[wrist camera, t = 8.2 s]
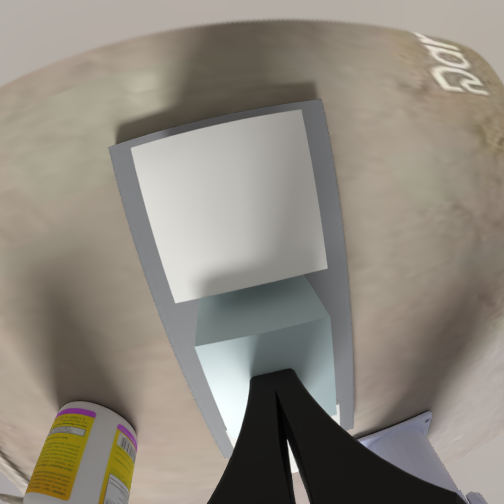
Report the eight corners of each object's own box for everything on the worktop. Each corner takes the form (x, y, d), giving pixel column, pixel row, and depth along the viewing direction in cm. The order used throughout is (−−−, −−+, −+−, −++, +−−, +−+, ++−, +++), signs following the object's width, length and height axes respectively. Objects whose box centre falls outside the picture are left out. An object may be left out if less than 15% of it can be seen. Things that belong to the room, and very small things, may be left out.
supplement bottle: (51, 422, 20) (5, 545, 7) (74, 383, 18) (12, 537, 6) (120, 460, 21) (98, 585, 9) (154, 428, 20) (136, 585, 8)
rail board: (349, 419, 22) (376, 480, 16) (223, 448, 21) (227, 515, 15) (315, 101, 14) (372, 78, 8) (115, 146, 14) (54, 150, 8)
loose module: (301, 331, 16) (336, 414, 10) (225, 348, 16) (230, 438, 10) (288, 250, 15) (330, 316, 9) (202, 269, 15) (194, 346, 9)
